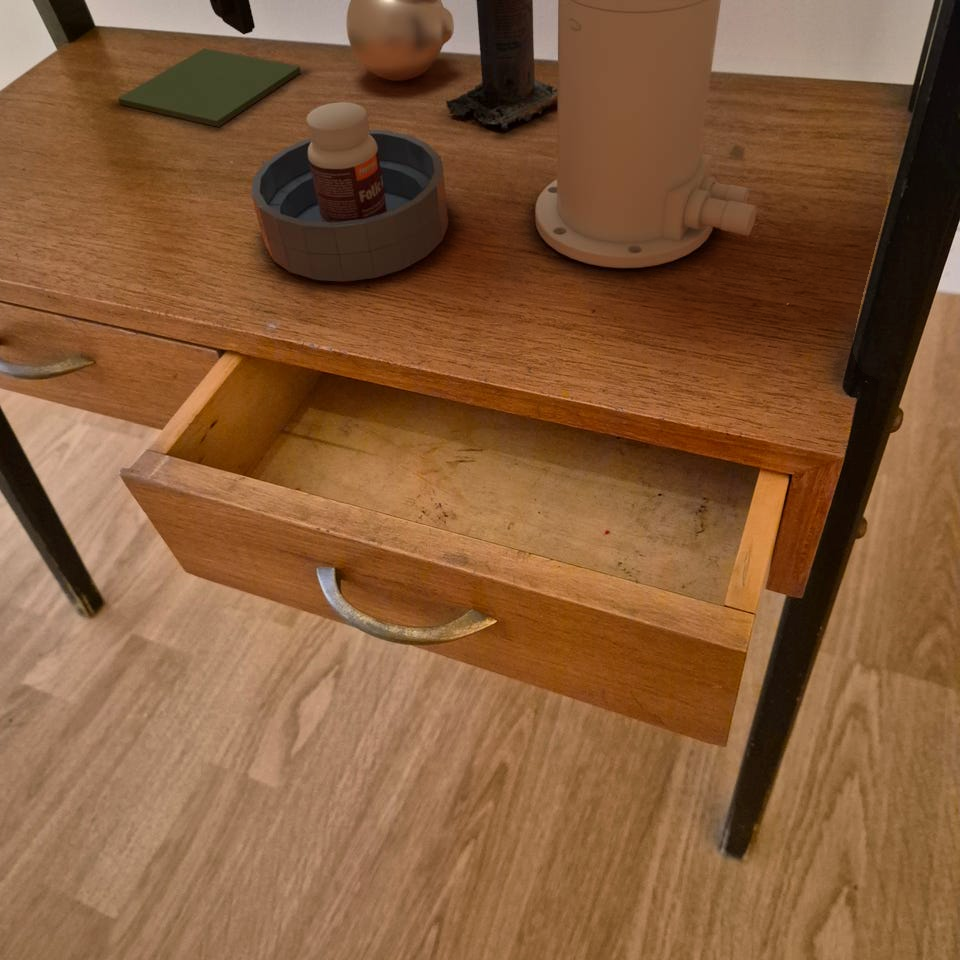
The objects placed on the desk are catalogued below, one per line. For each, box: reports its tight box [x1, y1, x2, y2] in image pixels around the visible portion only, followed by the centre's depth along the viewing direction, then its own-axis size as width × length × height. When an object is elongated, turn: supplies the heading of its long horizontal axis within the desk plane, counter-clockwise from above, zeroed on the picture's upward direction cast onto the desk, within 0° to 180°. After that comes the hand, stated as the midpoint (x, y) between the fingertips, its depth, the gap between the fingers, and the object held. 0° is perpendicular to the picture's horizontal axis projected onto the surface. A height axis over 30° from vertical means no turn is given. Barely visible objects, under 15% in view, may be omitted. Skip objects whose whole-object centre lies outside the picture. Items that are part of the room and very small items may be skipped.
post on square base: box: [445, 0, 558, 132], centre depth 71 cm, size 9×8×12 cm
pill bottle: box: [305, 101, 387, 222], centre depth 60 cm, size 5×5×8 cm
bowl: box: [250, 129, 449, 283], centre depth 62 cm, size 13×13×4 cm
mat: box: [117, 48, 301, 128], centre depth 82 cm, size 12×12×1 cm
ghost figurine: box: [345, 0, 455, 82], centre depth 78 cm, size 9×10×10 cm
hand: (311, 4), depth 52 cm, fingers open, 9 cm apart
